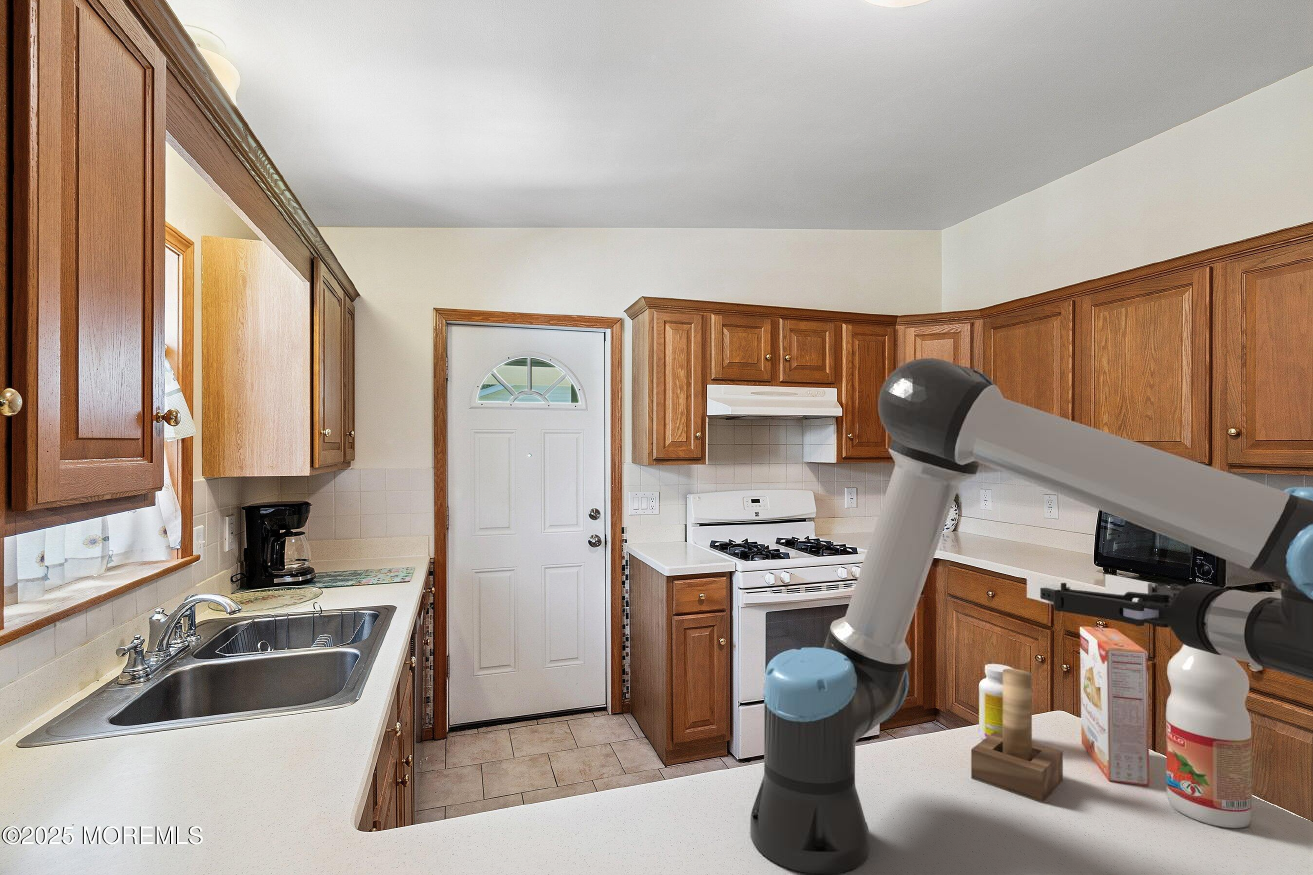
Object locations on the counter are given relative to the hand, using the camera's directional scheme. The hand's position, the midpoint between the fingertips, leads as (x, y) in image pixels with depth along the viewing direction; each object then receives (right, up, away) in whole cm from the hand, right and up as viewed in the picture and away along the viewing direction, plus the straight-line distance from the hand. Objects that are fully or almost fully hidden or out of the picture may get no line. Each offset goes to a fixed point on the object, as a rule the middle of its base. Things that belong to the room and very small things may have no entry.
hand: (1068, 585), depth 95 cm
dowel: (-3, -32, +9) cm, 33 cm away
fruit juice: (+20, -32, 0) cm, 38 cm away
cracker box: (+16, -33, +14) cm, 39 cm away
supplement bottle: (+2, -33, +23) cm, 40 cm away
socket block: (-3, -32, +9) cm, 33 cm away
